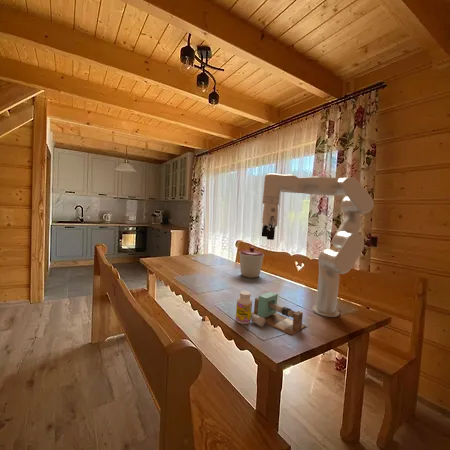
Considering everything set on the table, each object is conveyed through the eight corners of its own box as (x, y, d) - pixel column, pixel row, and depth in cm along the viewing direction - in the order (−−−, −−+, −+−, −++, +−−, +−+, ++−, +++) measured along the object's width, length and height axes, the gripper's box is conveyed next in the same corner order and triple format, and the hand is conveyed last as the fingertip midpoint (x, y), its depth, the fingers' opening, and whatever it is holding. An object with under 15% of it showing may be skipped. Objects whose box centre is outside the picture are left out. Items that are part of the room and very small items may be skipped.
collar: (269, 309, 124) (270, 291, 123) (276, 312, 121) (277, 294, 120) (257, 314, 118) (258, 295, 117) (264, 317, 115) (266, 298, 114)
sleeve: (256, 321, 115) (256, 313, 115) (265, 325, 111) (266, 317, 111) (251, 323, 112) (251, 315, 112) (260, 327, 109) (260, 319, 109)
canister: (256, 272, 197) (258, 244, 195) (267, 279, 180) (269, 249, 178) (233, 272, 191) (235, 244, 190) (243, 280, 174) (245, 249, 173)
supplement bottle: (233, 322, 112) (235, 293, 111) (238, 316, 118) (240, 289, 117) (248, 325, 110) (250, 296, 109) (252, 319, 116) (254, 291, 115)
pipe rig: (263, 308, 128) (264, 293, 128) (305, 326, 112) (307, 309, 112) (247, 315, 120) (248, 299, 119) (291, 335, 104) (293, 317, 103)
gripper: (284, 201, 111) (281, 241, 112) (273, 201, 128) (270, 236, 129) (267, 200, 110) (264, 240, 111) (258, 200, 127) (255, 235, 129)
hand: (267, 237), depth 120 cm, fingers open, 9 cm apart
